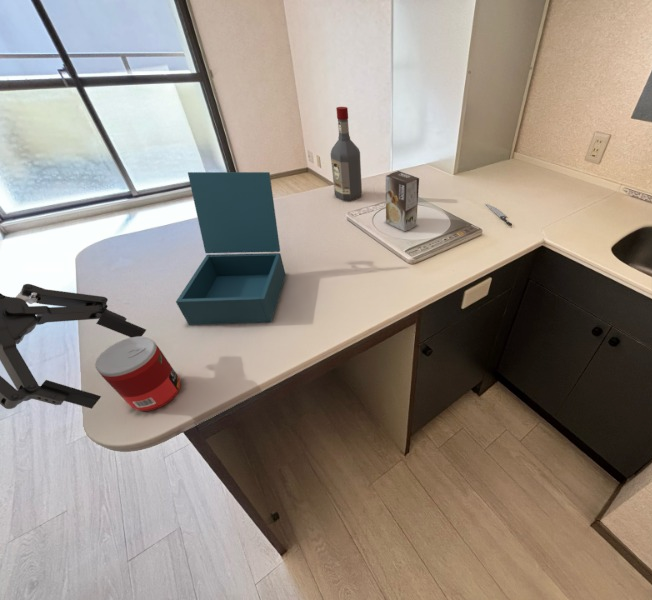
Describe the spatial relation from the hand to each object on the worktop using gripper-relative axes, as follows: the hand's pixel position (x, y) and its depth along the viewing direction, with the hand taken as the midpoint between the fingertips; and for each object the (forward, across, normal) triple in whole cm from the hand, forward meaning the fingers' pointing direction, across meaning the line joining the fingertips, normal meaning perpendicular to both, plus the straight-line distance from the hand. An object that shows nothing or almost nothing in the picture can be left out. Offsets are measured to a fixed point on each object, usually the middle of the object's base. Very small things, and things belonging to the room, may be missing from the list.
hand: (122, 365), depth 53 cm
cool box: (+13, -26, +1) cm, 29 cm away
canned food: (+7, 0, -4) cm, 8 cm away
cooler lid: (+1, -38, +13) cm, 40 cm away
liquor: (+30, -86, +18) cm, 92 cm away
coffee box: (+43, -62, +31) cm, 82 cm away
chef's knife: (+69, -68, +57) cm, 112 cm away
